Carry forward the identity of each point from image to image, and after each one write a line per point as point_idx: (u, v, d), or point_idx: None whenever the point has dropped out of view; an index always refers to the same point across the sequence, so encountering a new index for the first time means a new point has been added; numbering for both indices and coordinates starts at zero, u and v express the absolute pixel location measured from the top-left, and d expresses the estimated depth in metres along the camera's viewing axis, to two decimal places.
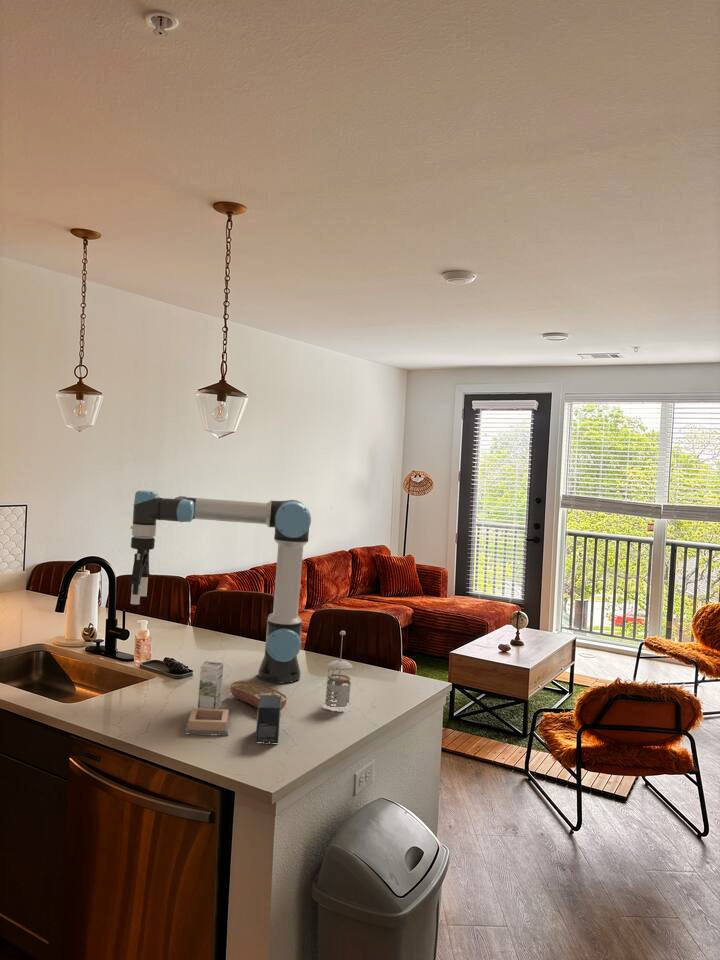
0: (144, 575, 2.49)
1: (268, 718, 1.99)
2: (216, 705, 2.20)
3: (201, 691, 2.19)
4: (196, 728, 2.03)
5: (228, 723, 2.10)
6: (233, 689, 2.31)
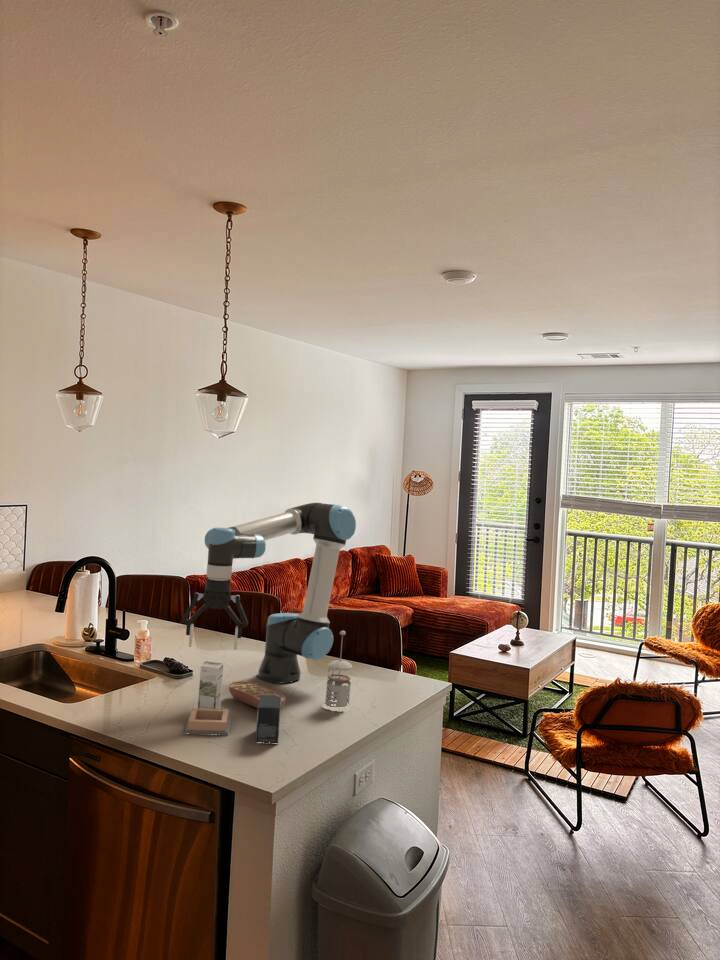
0: (238, 625, 2.22)
1: (268, 718, 1.99)
2: (216, 705, 2.20)
3: (201, 691, 2.19)
4: (196, 728, 2.03)
5: (228, 723, 2.10)
6: (232, 689, 2.31)
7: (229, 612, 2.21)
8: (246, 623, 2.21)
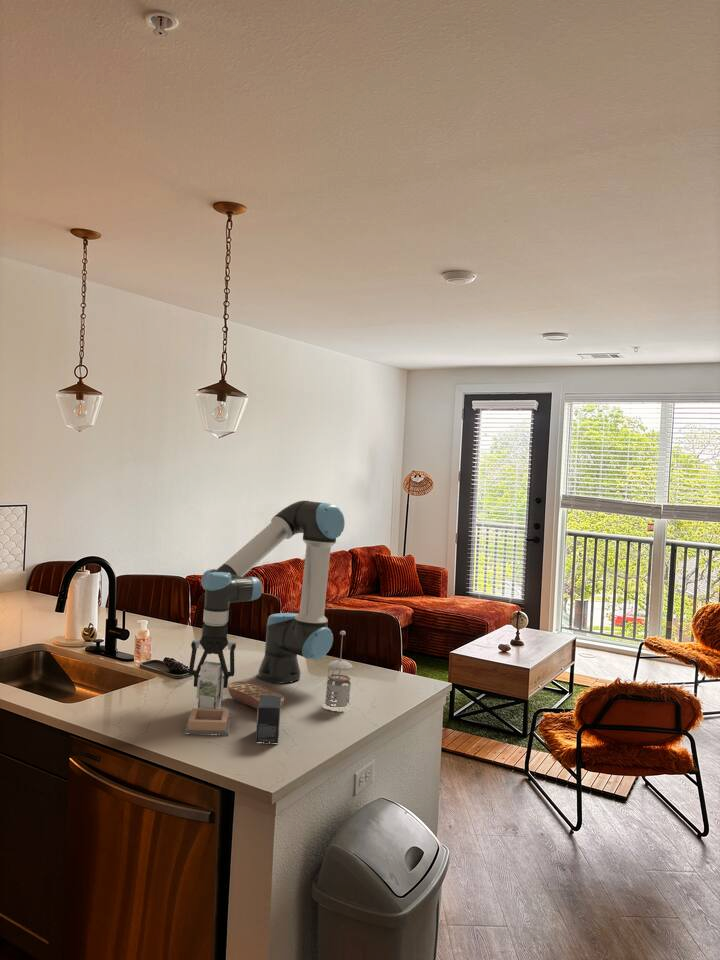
0: (224, 675, 2.22)
1: (268, 718, 1.99)
2: (216, 705, 2.20)
3: (201, 691, 2.19)
4: (196, 728, 2.03)
5: (228, 723, 2.10)
6: (230, 689, 2.30)
7: (221, 659, 2.21)
8: (232, 673, 2.21)
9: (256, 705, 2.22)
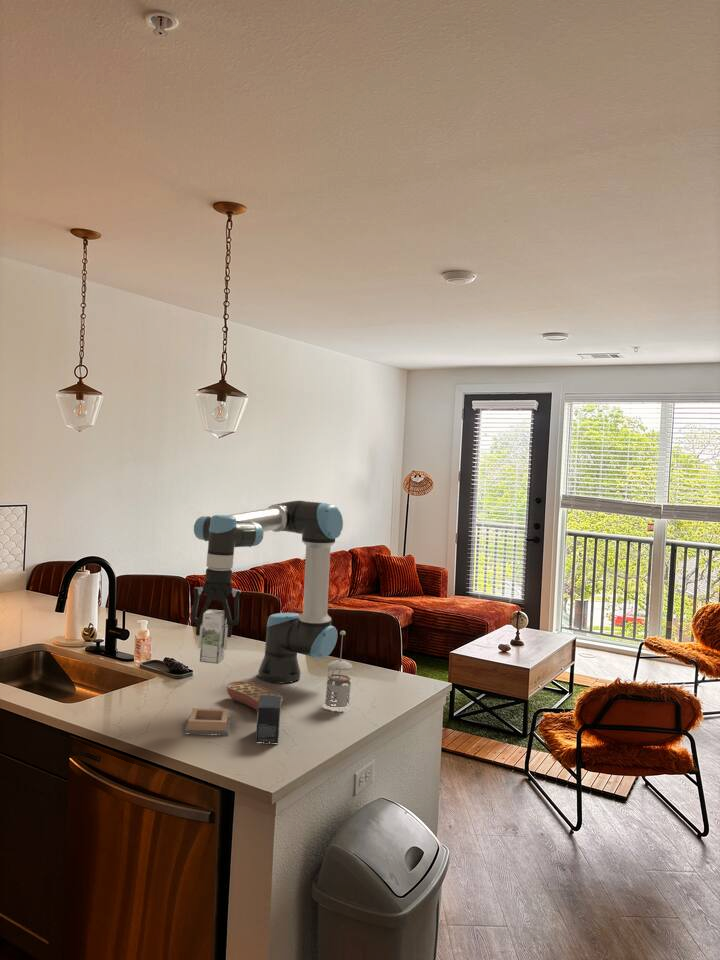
0: (228, 624, 2.10)
1: (268, 718, 1.99)
2: (219, 655, 2.08)
3: (204, 640, 2.07)
4: (196, 728, 2.03)
5: (228, 723, 2.10)
6: (229, 690, 2.30)
7: (225, 606, 2.09)
8: (237, 621, 2.09)
9: (254, 705, 2.21)
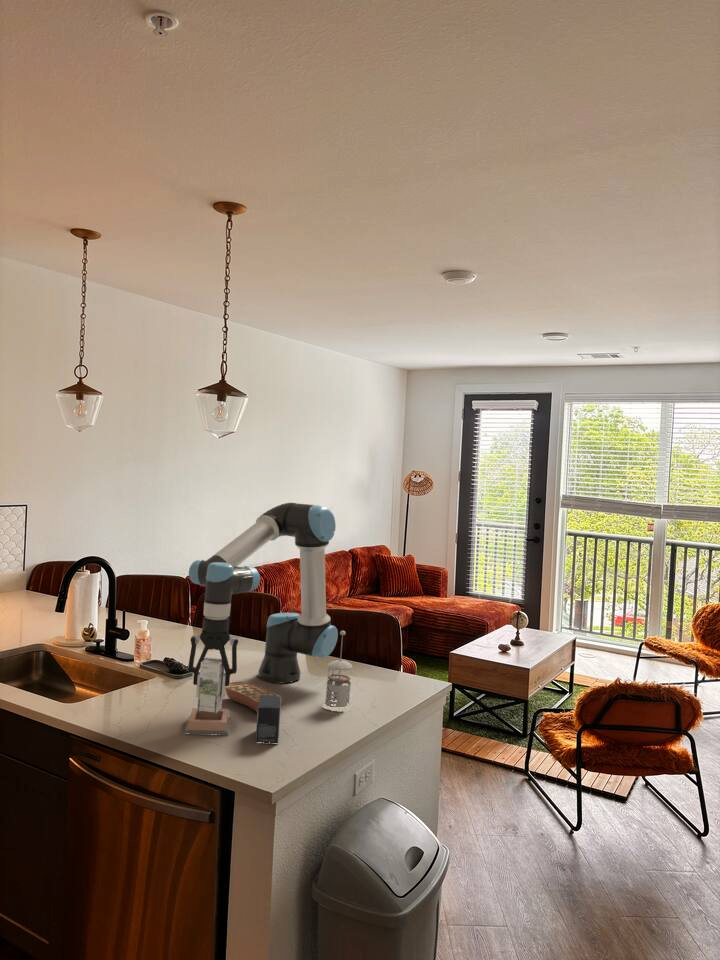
0: (225, 672, 2.08)
1: (268, 718, 1.99)
2: (217, 704, 2.06)
3: (202, 690, 2.05)
4: (196, 728, 2.03)
5: (228, 723, 2.10)
6: (228, 690, 2.30)
7: (222, 655, 2.07)
8: (235, 670, 2.08)
9: (253, 706, 2.21)
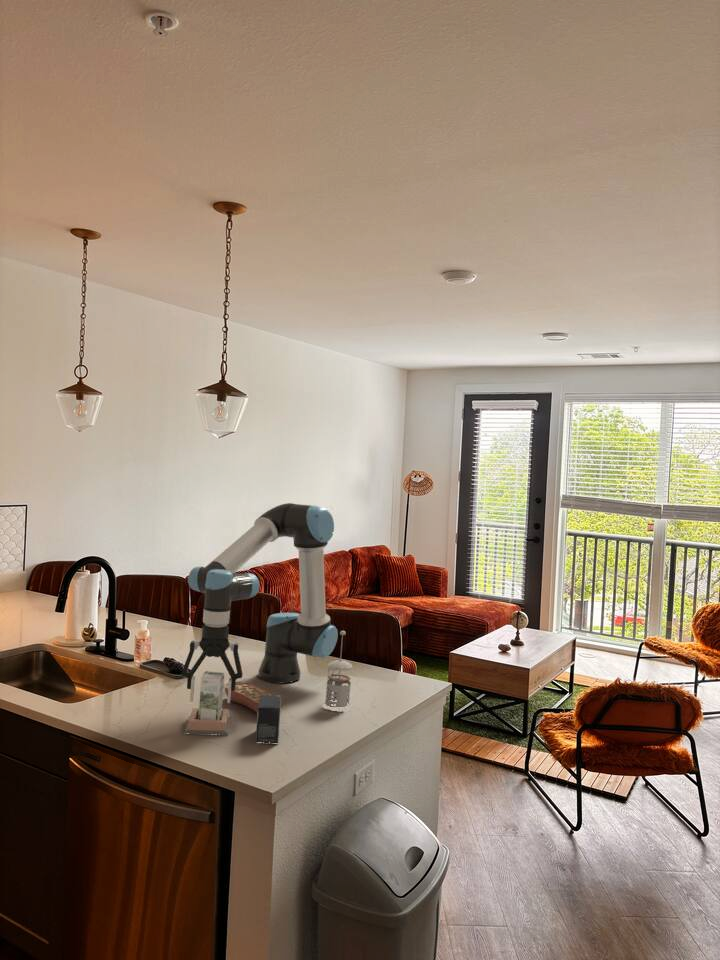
0: None
1: (268, 718, 1.99)
2: (218, 718, 2.06)
3: (202, 704, 2.05)
4: (196, 728, 2.03)
5: (228, 723, 2.10)
6: (227, 690, 2.29)
7: (225, 661, 2.07)
8: (240, 675, 2.08)
9: (252, 706, 2.21)
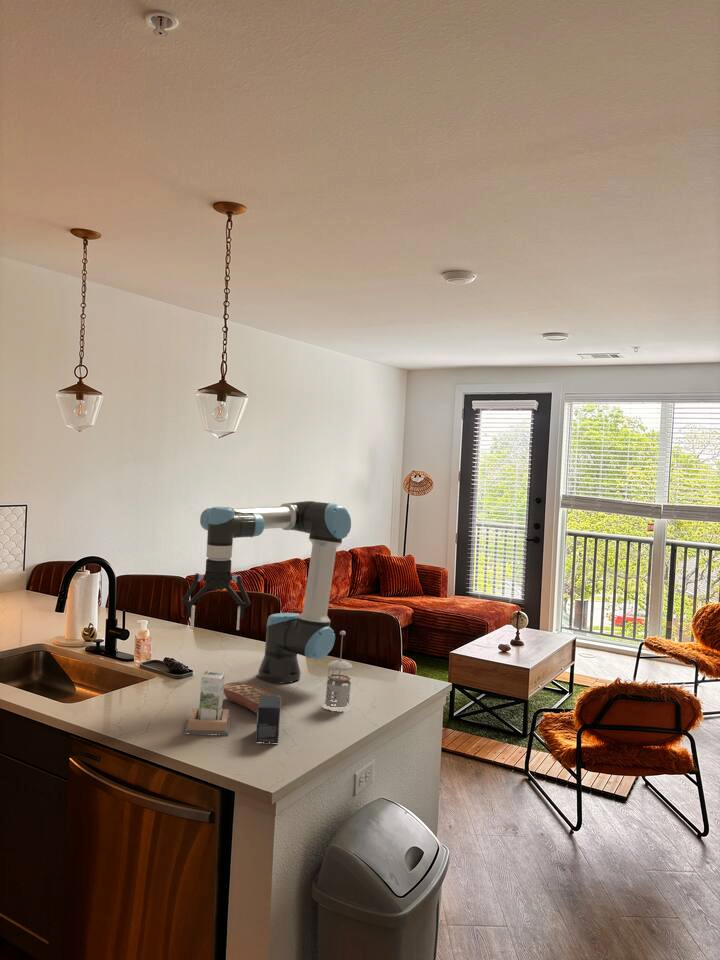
0: (240, 605, 2.19)
1: (268, 718, 1.99)
2: (218, 718, 2.06)
3: (202, 704, 2.05)
4: (196, 728, 2.03)
5: (228, 723, 2.10)
6: (225, 690, 2.29)
7: (231, 592, 2.17)
8: (248, 603, 2.18)
9: (251, 706, 2.20)
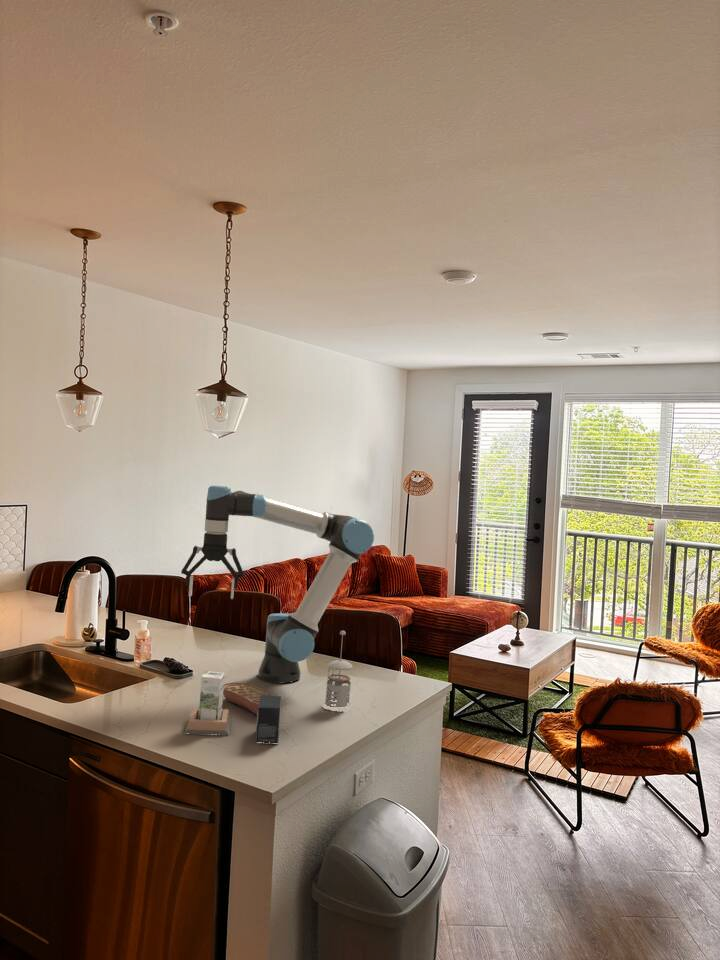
0: None
1: (268, 718, 1.99)
2: (218, 718, 2.06)
3: (202, 704, 2.05)
4: (196, 728, 2.03)
5: (228, 723, 2.10)
6: (224, 691, 2.29)
7: (226, 564, 2.37)
8: (242, 574, 2.38)
9: (249, 706, 2.20)
